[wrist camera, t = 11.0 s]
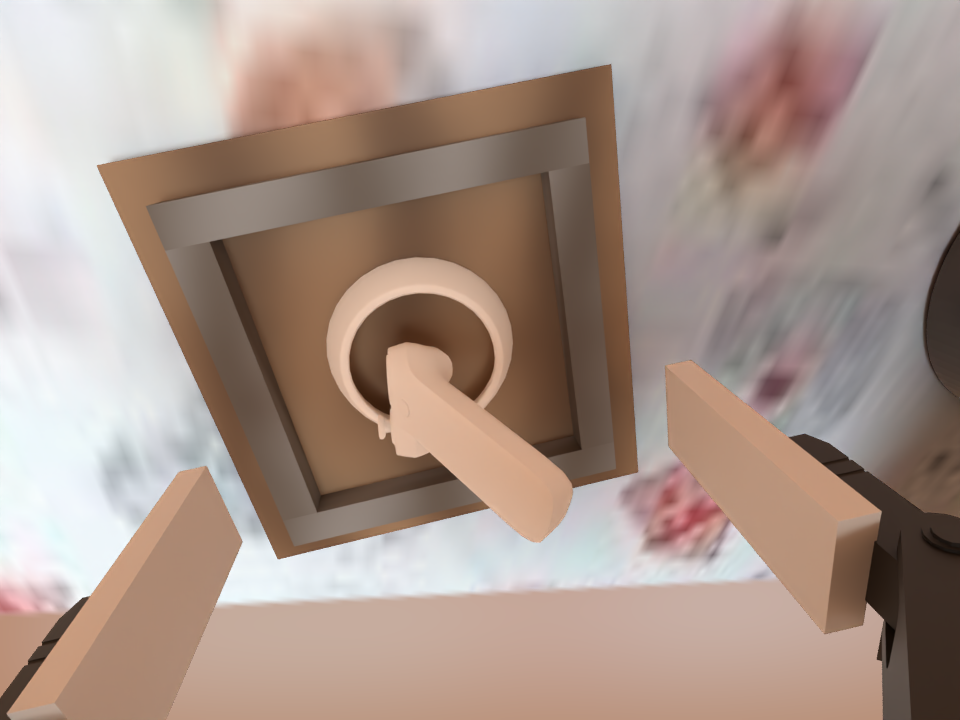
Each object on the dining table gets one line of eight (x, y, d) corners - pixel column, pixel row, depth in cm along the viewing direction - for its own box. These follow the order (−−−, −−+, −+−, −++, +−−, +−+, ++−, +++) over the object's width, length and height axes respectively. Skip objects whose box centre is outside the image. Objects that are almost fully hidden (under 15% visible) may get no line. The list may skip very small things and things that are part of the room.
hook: (649, 503, 20) (525, 628, 16) (446, 365, 27) (326, 429, 23) (700, 340, 16) (545, 458, 12) (442, 227, 23) (291, 276, 19)
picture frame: (601, 67, 19) (624, 59, 17) (629, 460, 27) (648, 487, 25) (111, 163, 18) (76, 167, 16) (282, 544, 26) (272, 578, 24)
